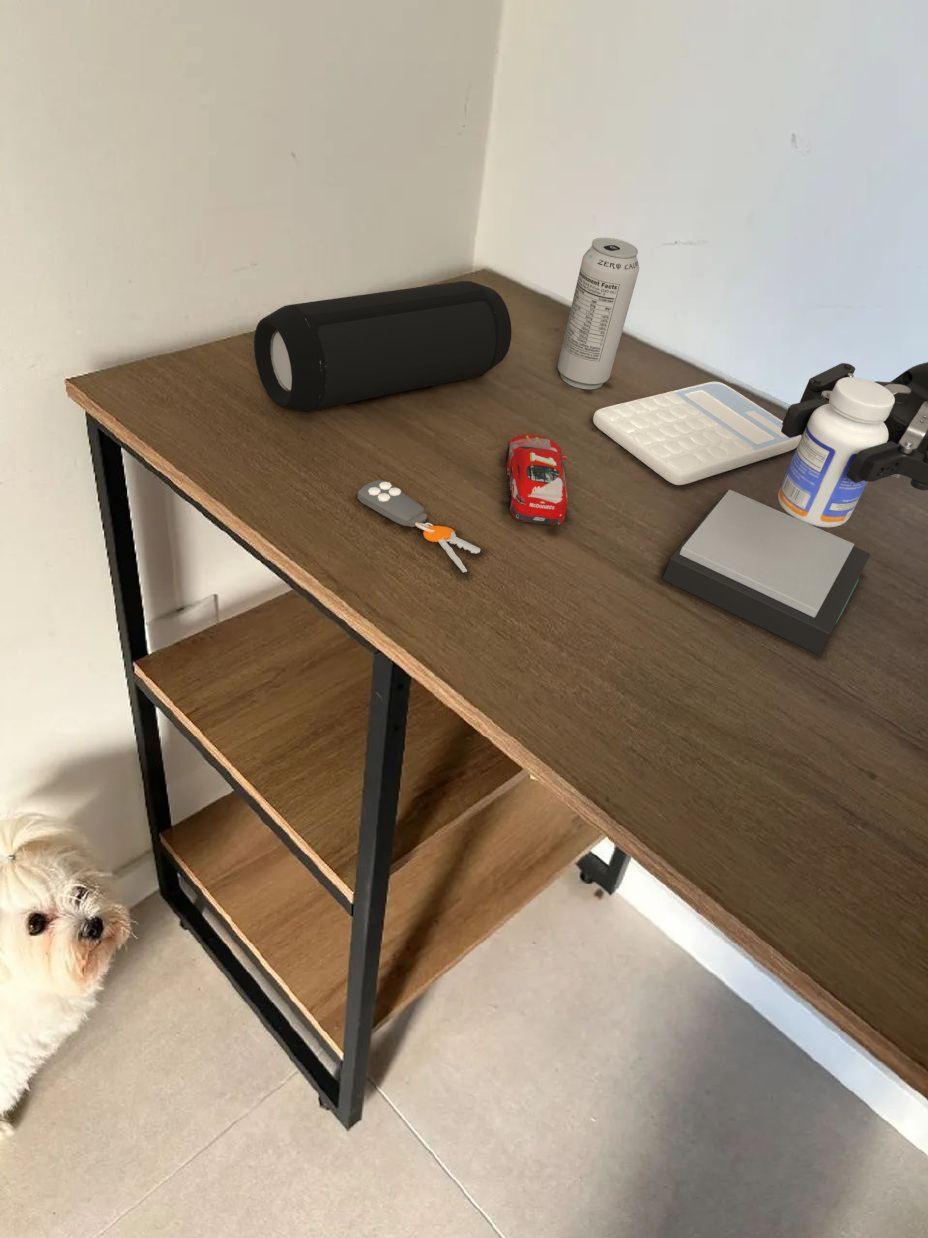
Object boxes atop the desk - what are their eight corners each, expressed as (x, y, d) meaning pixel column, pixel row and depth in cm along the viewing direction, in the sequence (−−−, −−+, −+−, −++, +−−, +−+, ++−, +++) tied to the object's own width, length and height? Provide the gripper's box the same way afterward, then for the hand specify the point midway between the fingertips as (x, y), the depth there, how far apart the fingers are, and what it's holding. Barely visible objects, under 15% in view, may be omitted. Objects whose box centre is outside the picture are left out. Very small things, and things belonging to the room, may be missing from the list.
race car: (504, 448, 92) (511, 412, 89) (557, 456, 92) (566, 421, 90) (504, 526, 82) (512, 488, 79) (564, 535, 82) (575, 497, 80)
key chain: (351, 502, 81) (352, 488, 80) (381, 487, 84) (382, 473, 83) (463, 575, 76) (466, 561, 75) (492, 557, 78) (495, 543, 77)
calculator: (586, 422, 98) (591, 406, 97) (714, 390, 108) (719, 376, 107) (674, 489, 91) (680, 473, 90) (802, 449, 101) (809, 433, 100)
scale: (860, 574, 85) (876, 546, 83) (819, 656, 75) (835, 627, 73) (717, 510, 89) (729, 482, 87) (661, 579, 80) (672, 550, 78)
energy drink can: (618, 385, 106) (655, 253, 96) (582, 396, 102) (616, 261, 93) (581, 361, 109) (613, 232, 99) (544, 371, 106) (574, 238, 96)
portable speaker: (455, 349, 106) (468, 262, 100) (507, 389, 101) (525, 301, 94) (249, 387, 93) (249, 290, 87) (296, 436, 88) (300, 336, 81)
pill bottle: (848, 500, 71) (906, 384, 64) (847, 538, 67) (908, 419, 60) (778, 479, 72) (828, 363, 65) (772, 515, 68) (825, 396, 61)
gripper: (908, 317, 74) (764, 347, 66) (1073, 406, 66) (933, 452, 57) (867, 402, 79) (729, 439, 71) (1017, 493, 71) (880, 547, 62)
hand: (821, 444), depth 64 cm, fingers closed on pill bottle, 5 cm apart
